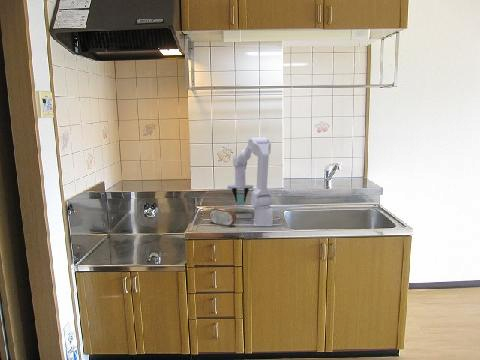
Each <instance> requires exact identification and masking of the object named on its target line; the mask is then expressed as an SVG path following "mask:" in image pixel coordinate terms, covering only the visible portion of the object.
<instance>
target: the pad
mask: <svg viewBox="0 0 480 360" xmlns="http://www.w3.org/2000/svg"><path fill="white" fill-rule="evenodd" d="M235 215H236V221H237V220H240V221H241V220H243V221H244V220H253V213H235Z"/></svg>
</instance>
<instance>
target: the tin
mask: <svg viewBox="0 0 480 360" xmlns="http://www.w3.org/2000/svg"><path fill="white" fill-rule="evenodd" d="M208 215H209V219H210V221H211V222H212V223H213V224H215V225H220V226H226V227H230V226H232V225H233V226H234V225H235V223H236V221H237V220H236V213H235V211H233V209H230V208H229V209H228V208H223V207H216V206H215V207H213V209H211V210H210V211H209V213H208Z"/></svg>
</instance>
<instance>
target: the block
mask: <svg viewBox="0 0 480 360" xmlns="http://www.w3.org/2000/svg"><path fill="white" fill-rule="evenodd" d="M236 205H237V206H245V202H244V192H237V202H236Z"/></svg>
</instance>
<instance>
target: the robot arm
mask: <svg viewBox="0 0 480 360" xmlns="http://www.w3.org/2000/svg"><path fill="white" fill-rule="evenodd" d="M271 145H272V142H271V140H270V138H269V137H268V136H264V137H250V138H249V139H248V140H247V147H246V148H244V149H242V150H241V151H240V153H239V154H238V155H237V156H234V157H232V165H233V166H234V184H230V185H226V188H227V190H231V192H232V194H233V195H234V200H235V202H236V203H237V193H238V192H237V191H238V190H243V193H244V203H246V200H247V195H248V193H249V191H250V190H252V192H251V197H250V205H251V206H252V208H254V210H253V211H254V212H253V213H254V214H253V215H254V216H253V217H254V218H253V219H254V221H253V227H273V226H274V225H273V222H274V217H273V214H274V213H273V212H274V211H273V210H274V209H273V207H271V205H272V203H273V197H272V196H273V194H272V191H271V190H270V189H268V175H269V159H270V158H269V157H270V155H271ZM252 154H253V155H254V156H255V157H257V171H256V172H257V173H256V188H255V189H254V184H246V170H247V165H248V161H249V159H251V157H252Z"/></svg>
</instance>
